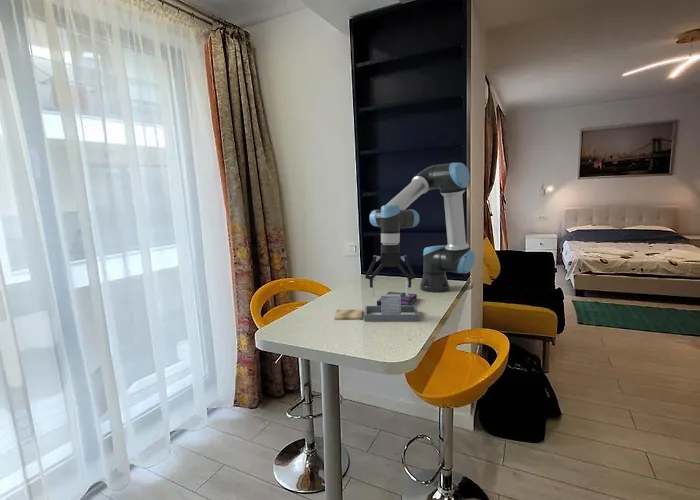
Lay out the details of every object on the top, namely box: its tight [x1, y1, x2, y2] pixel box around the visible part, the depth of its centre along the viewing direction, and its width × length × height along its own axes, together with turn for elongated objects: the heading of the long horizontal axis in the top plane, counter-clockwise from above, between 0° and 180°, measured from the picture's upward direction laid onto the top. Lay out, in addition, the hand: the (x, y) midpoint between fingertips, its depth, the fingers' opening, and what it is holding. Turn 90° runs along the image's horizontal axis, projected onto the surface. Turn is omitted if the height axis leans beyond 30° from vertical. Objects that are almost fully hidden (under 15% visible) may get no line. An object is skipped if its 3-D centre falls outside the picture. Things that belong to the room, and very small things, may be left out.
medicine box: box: [380, 294, 402, 314], centre depth 150 cm, size 8×4×9 cm, turn 84°
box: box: [376, 291, 418, 306], centre depth 170 cm, size 14×4×20 cm
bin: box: [363, 305, 420, 322], centre depth 150 cm, size 22×13×2 cm, turn 86°
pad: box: [334, 309, 364, 321], centre depth 152 cm, size 11×11×1 cm
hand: (390, 295), depth 149 cm, fingers open, 13 cm apart
